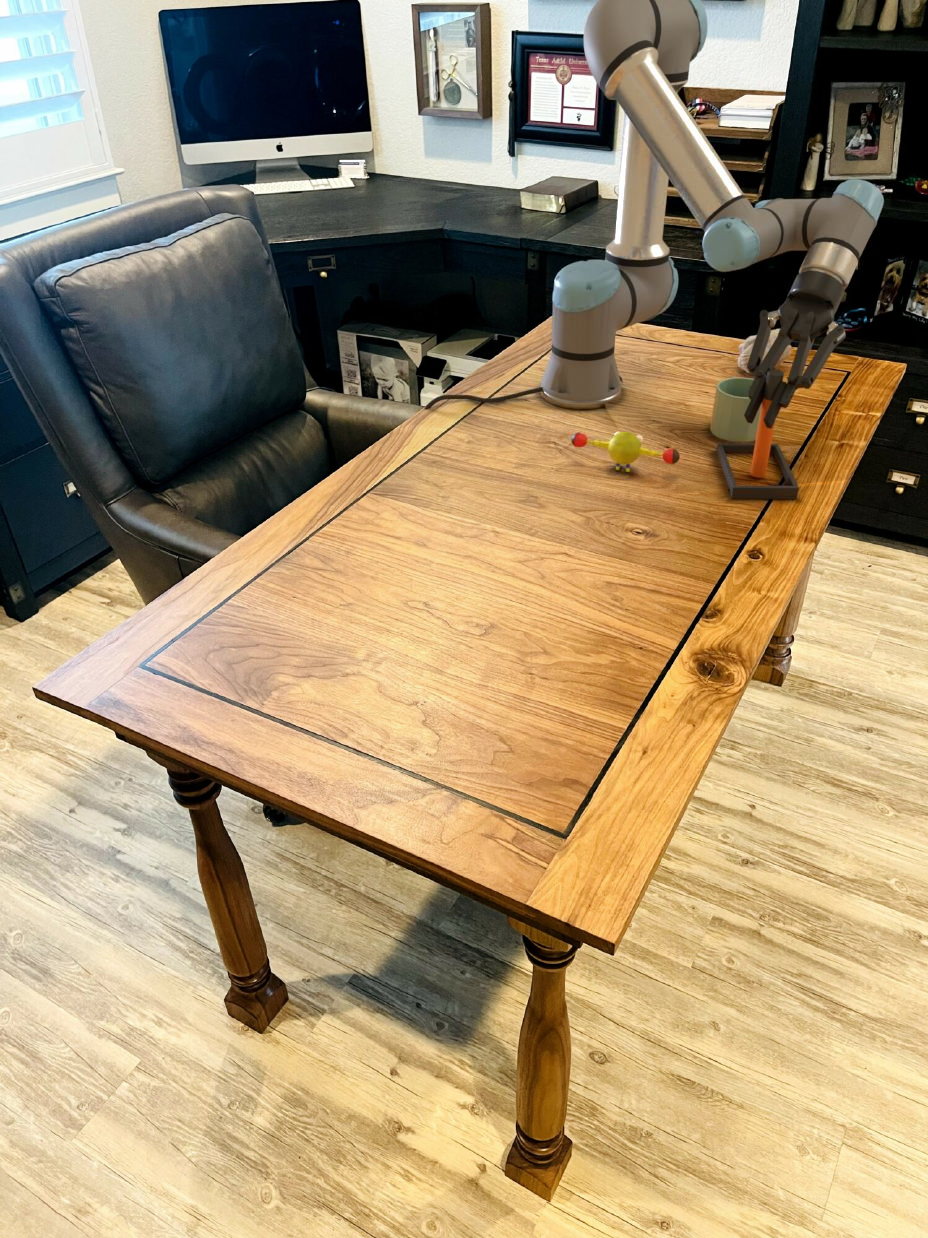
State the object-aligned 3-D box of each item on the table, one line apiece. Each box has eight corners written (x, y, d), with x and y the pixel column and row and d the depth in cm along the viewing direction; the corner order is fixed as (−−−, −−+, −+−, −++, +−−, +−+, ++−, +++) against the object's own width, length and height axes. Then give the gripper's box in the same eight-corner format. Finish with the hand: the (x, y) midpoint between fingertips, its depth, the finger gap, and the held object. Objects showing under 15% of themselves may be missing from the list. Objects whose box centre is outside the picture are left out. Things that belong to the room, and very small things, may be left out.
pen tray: (796, 499, 149) (799, 487, 148) (731, 498, 150) (733, 487, 148) (775, 454, 161) (778, 443, 160) (715, 454, 162) (717, 443, 161)
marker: (753, 478, 152) (770, 375, 142) (747, 471, 154) (764, 369, 144) (767, 477, 153) (786, 374, 143) (762, 470, 155) (780, 368, 145)
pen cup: (719, 446, 164) (727, 400, 159) (702, 424, 171) (709, 378, 166) (770, 443, 165) (779, 396, 160) (751, 420, 172) (759, 375, 167)
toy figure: (681, 473, 157) (686, 435, 153) (672, 488, 153) (677, 449, 149) (576, 454, 163) (578, 417, 159) (565, 468, 159) (567, 430, 155)
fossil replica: (725, 374, 190) (775, 388, 186) (734, 335, 184) (785, 348, 181) (744, 350, 197) (792, 362, 194) (753, 311, 192) (803, 323, 188)
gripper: (874, 304, 145) (810, 444, 144) (777, 286, 153) (716, 419, 152) (870, 277, 138) (803, 424, 138) (768, 260, 146) (704, 399, 146)
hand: (757, 421), depth 145 cm, fingers closed on marker, 2 cm apart
